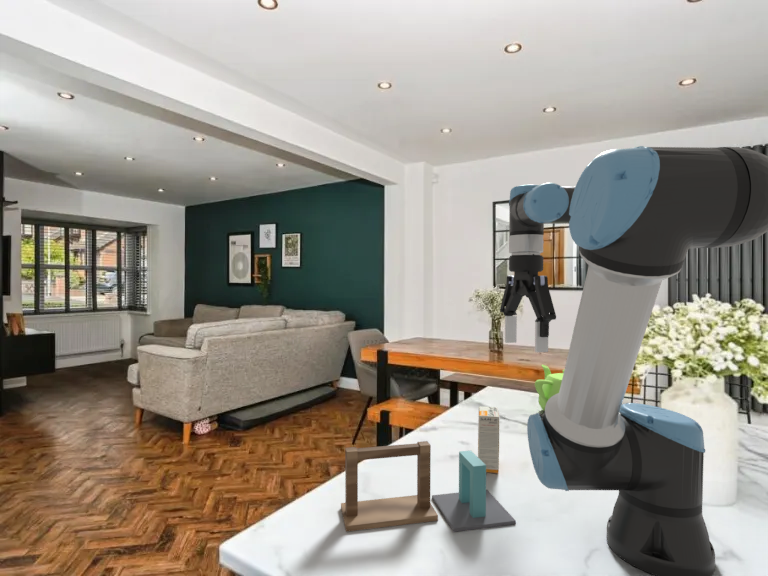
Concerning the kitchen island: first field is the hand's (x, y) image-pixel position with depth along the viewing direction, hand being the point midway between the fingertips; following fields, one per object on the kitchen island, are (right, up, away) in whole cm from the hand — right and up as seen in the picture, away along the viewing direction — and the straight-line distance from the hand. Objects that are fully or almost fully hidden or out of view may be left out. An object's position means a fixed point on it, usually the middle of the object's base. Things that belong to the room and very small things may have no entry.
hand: (525, 347), depth 102 cm
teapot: (+27, -28, +45) cm, 59 cm away
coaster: (-16, -29, -17) cm, 37 cm away
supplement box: (-8, -29, +3) cm, 30 cm away
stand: (-32, -29, -18) cm, 47 cm away
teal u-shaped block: (-16, -29, -17) cm, 37 cm away
